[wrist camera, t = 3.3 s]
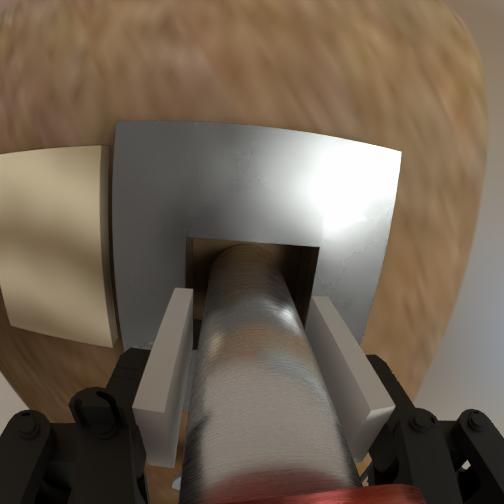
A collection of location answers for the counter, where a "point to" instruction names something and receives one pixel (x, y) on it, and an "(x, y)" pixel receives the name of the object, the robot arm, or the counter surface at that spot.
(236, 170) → the eye plate
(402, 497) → the red mushroom button
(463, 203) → the counter surface
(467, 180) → the counter surface
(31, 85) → the counter surface
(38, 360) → the counter surface
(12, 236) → the birch pad
